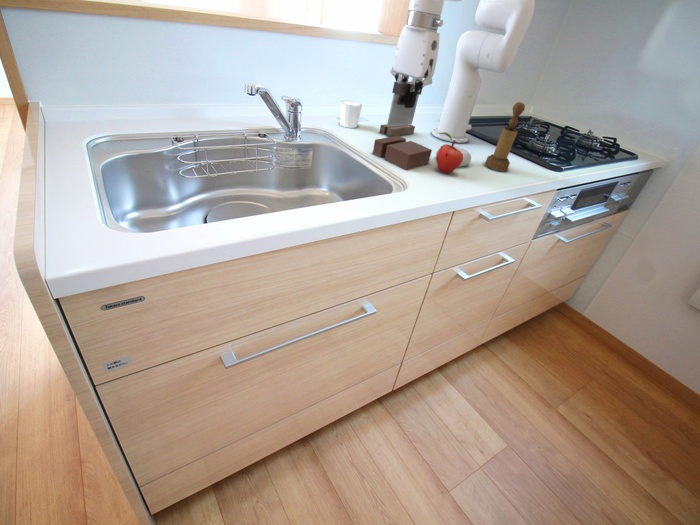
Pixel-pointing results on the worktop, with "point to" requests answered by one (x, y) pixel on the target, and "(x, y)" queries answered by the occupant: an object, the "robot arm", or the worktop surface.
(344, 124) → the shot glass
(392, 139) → the brown rectangular bar
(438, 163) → the apple
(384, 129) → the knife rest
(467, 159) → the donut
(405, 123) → the dough scraper
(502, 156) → the mortar and pestle
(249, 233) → the worktop surface
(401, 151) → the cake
